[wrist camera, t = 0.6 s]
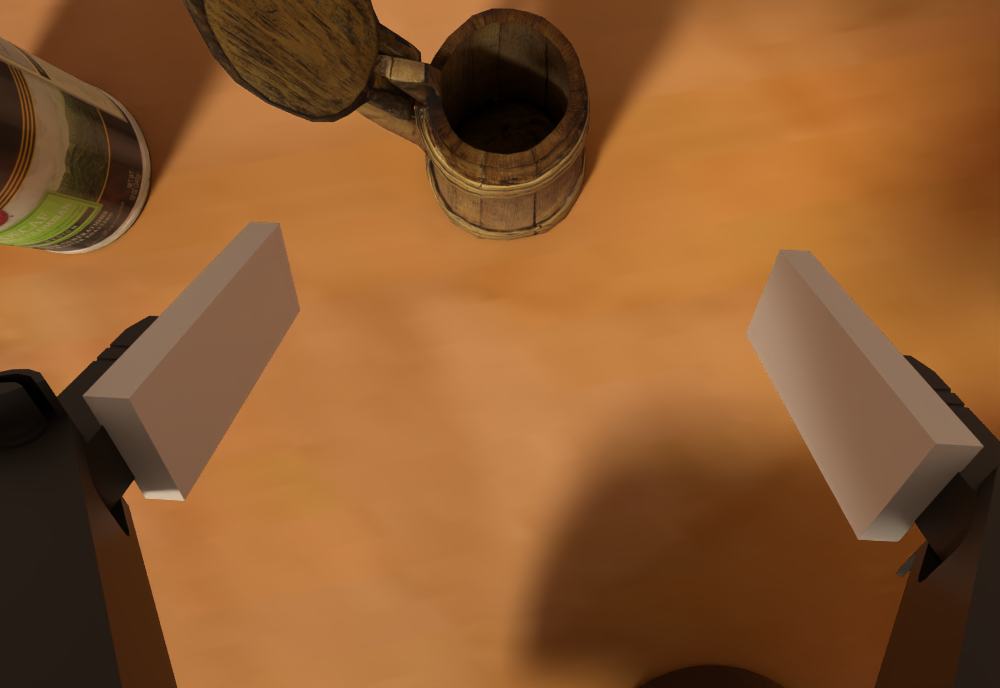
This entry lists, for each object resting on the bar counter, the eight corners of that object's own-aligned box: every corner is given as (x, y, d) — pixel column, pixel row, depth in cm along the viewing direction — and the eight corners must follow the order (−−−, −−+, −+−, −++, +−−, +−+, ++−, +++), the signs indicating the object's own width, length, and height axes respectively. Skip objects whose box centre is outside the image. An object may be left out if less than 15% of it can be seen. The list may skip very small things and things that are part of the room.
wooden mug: (365, 66, 31) (156, -273, 13) (595, 97, 30) (715, -201, 12) (347, 220, 31) (124, 105, 13) (572, 252, 31) (654, 178, 13)
